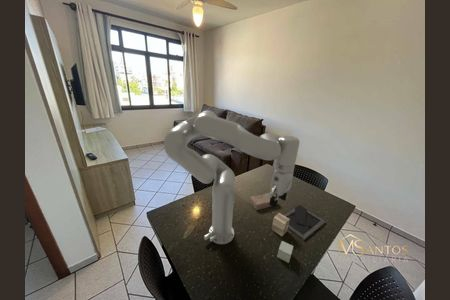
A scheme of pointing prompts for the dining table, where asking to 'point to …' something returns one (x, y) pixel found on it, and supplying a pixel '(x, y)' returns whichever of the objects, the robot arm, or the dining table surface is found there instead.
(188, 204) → the dining table surface
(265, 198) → the brick
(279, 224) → the maple block
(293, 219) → the picture frame
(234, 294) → the dining table surface
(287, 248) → the sage block
